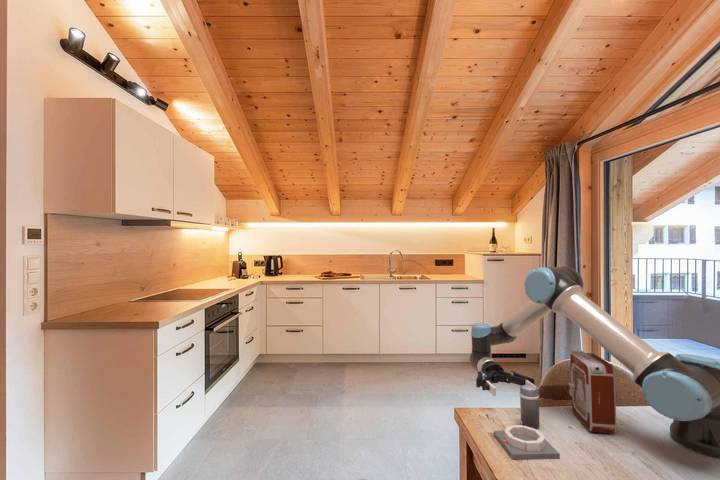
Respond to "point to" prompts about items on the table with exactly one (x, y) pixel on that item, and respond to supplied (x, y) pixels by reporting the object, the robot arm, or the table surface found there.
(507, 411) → the table surface
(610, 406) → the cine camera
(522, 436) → the mount plate
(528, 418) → the lens
